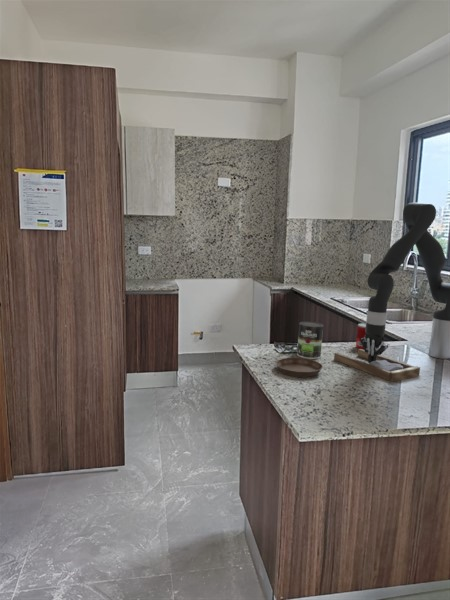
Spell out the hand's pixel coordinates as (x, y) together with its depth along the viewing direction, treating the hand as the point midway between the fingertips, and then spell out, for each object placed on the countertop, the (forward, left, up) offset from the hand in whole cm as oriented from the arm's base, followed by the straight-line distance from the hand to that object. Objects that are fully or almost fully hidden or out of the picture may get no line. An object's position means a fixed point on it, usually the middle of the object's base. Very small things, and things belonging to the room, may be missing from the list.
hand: (371, 363), depth 186 cm
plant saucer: (+32, -8, -2) cm, 33 cm away
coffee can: (+14, -22, -1) cm, 26 cm away
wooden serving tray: (0, +1, -1) cm, 1 cm away
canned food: (-20, -21, -1) cm, 29 cm away
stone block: (+1, +8, -2) cm, 8 cm away
